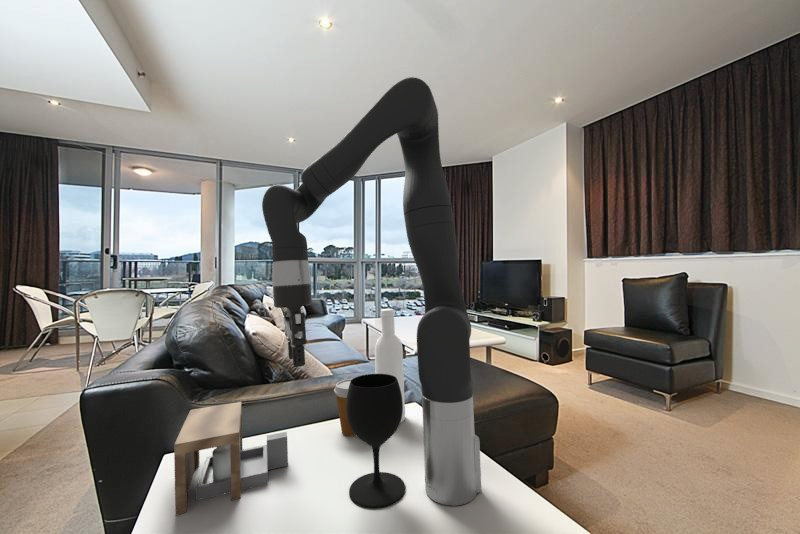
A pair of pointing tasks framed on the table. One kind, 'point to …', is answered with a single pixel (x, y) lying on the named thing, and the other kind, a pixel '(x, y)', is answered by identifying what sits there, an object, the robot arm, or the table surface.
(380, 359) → the bottle
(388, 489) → the wine glass
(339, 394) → the disposable coffee cup
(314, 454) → the table surface
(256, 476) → the tray
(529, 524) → the table surface
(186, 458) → the small wooden table
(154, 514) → the table surface
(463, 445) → the robot arm
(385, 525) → the table surface
